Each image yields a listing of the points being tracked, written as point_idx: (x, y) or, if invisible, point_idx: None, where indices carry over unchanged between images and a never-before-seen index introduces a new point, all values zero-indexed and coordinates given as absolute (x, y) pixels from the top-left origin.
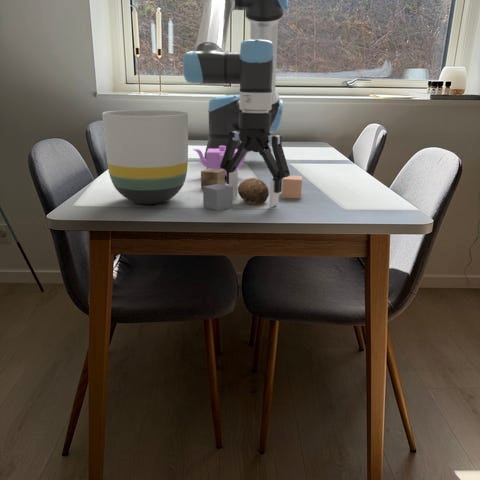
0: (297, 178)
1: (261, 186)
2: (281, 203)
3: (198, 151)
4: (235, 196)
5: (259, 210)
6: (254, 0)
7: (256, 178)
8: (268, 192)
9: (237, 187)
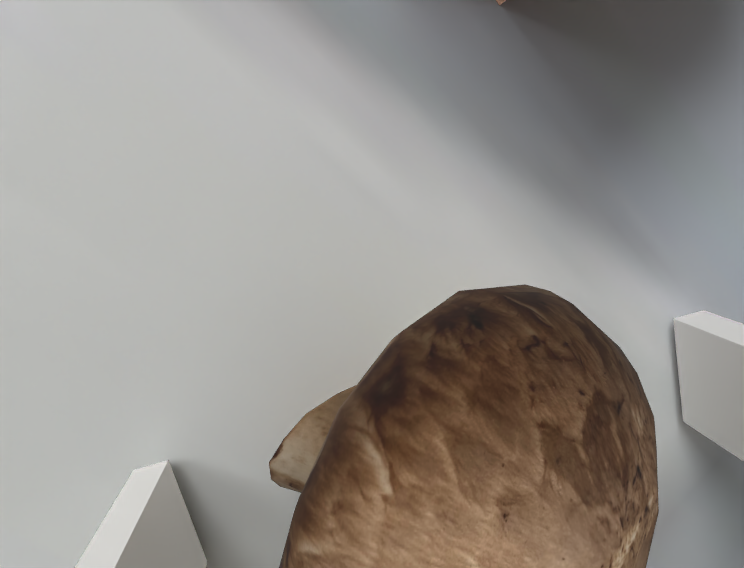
0: None
1: (649, 520)
2: (668, 218)
3: None
4: (178, 497)
5: (676, 545)
6: None
7: (489, 542)
8: (625, 356)
9: (127, 540)
